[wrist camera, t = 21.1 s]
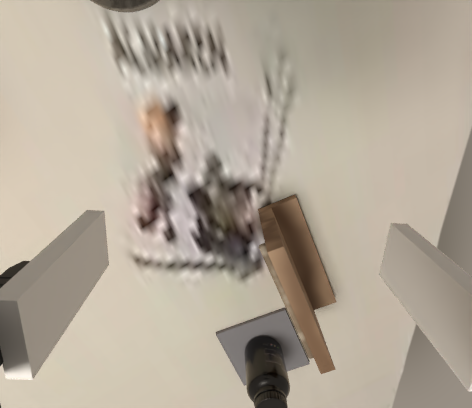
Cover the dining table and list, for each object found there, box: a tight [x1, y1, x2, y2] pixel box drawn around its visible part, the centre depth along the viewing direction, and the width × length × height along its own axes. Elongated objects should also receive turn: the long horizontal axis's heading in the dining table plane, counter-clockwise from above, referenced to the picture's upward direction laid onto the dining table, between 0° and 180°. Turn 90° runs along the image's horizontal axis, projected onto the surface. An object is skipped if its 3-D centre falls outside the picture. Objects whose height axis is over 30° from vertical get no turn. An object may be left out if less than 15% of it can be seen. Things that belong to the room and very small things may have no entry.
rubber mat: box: [216, 308, 309, 386], centre depth 61 cm, size 13×13×1 cm
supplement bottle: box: [244, 336, 290, 408], centre depth 55 cm, size 7×7×12 cm
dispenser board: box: [258, 195, 336, 374], centre depth 49 cm, size 7×20×14 cm, turn 23°
